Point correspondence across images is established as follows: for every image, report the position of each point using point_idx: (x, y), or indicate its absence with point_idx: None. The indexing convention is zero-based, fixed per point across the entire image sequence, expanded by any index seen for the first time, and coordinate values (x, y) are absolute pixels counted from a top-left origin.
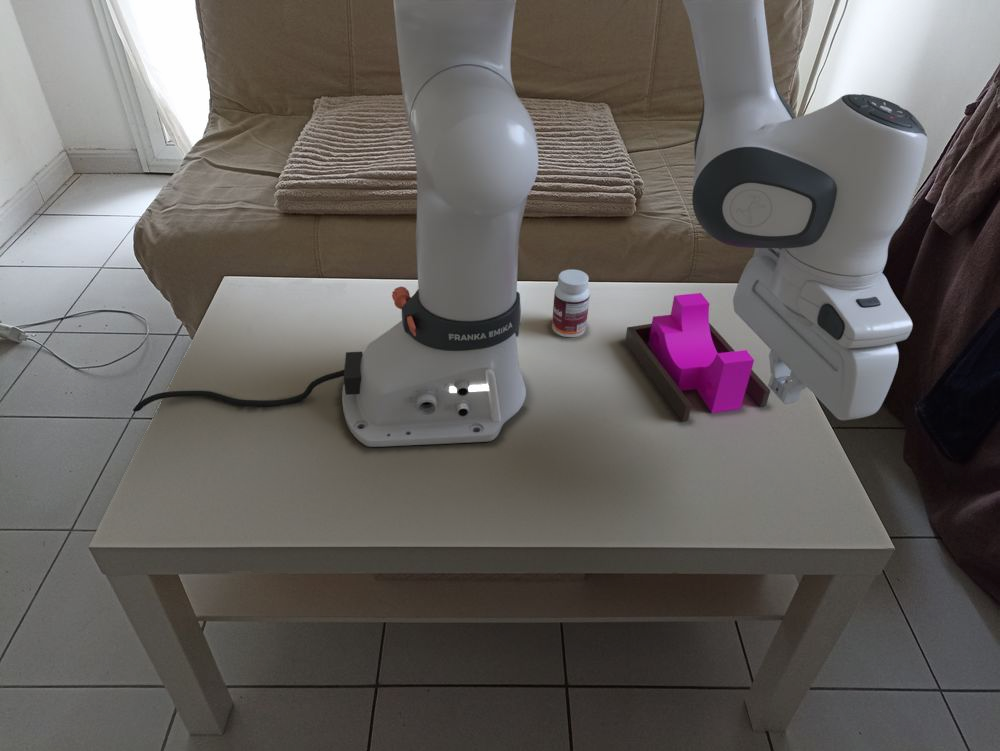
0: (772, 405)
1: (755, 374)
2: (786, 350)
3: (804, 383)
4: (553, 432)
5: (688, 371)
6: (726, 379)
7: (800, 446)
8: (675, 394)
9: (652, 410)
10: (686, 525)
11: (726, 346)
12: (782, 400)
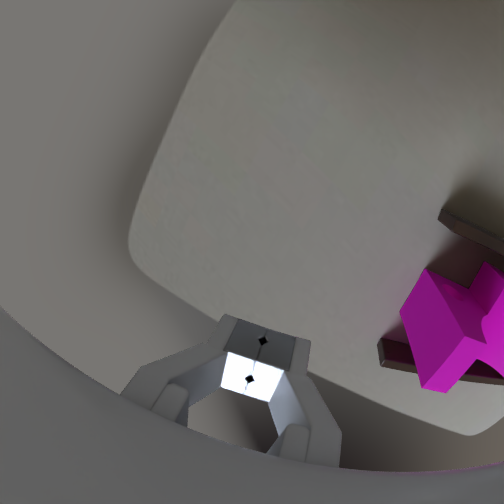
0: (370, 352)
1: (415, 372)
2: (169, 498)
3: (53, 358)
4: (497, 29)
5: (496, 291)
6: (441, 320)
7: (288, 319)
8: (484, 231)
9: (483, 188)
10: (246, 40)
11: (472, 377)
12: (227, 317)
